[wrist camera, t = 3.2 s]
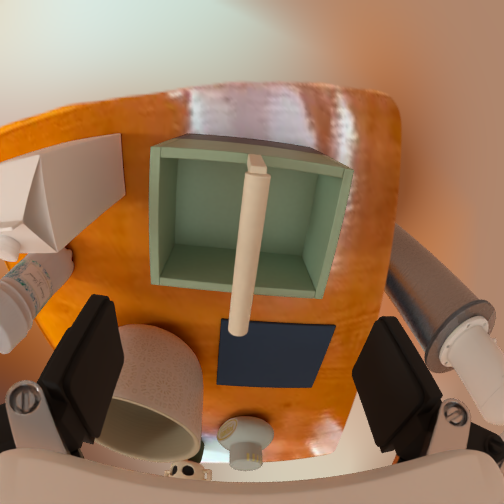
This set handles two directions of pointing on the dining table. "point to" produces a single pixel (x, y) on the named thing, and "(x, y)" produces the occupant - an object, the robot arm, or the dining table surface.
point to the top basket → (244, 220)
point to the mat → (272, 354)
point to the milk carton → (57, 193)
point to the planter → (155, 398)
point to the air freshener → (245, 441)
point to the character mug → (190, 468)
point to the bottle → (29, 292)
